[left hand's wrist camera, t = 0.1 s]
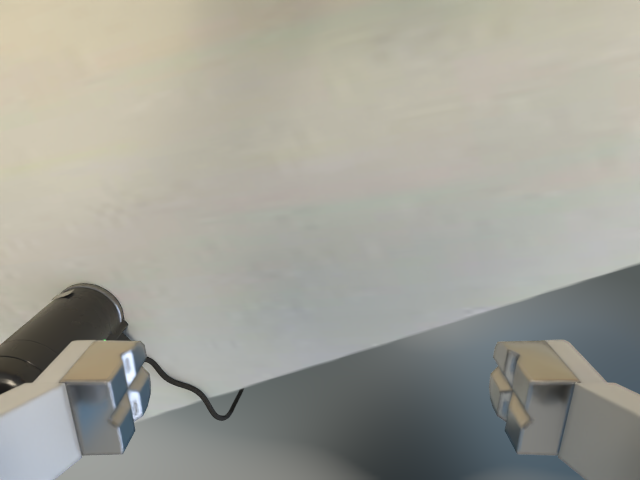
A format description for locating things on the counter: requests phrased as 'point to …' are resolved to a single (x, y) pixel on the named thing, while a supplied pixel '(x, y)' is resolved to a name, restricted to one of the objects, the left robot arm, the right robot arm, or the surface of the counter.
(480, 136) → the counter surface
